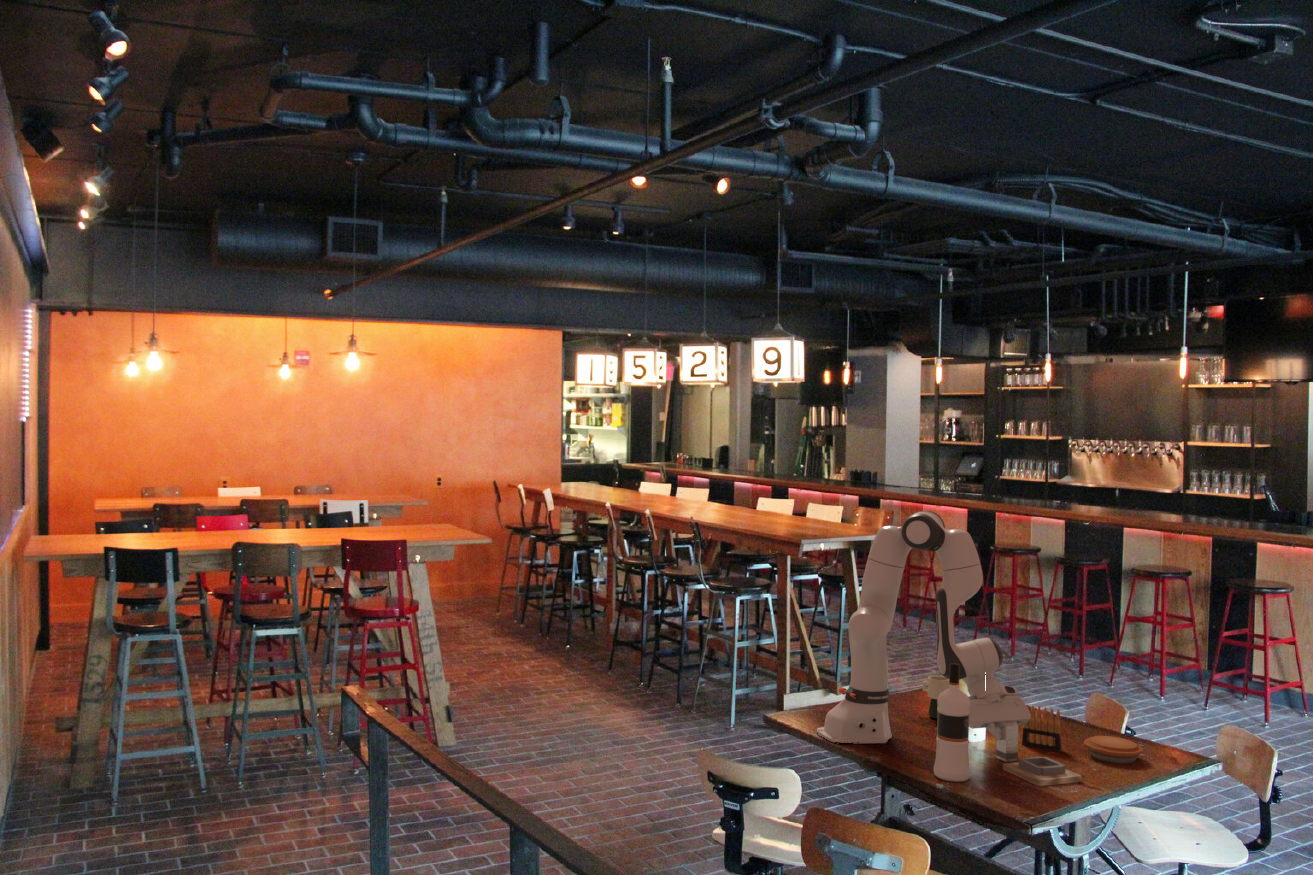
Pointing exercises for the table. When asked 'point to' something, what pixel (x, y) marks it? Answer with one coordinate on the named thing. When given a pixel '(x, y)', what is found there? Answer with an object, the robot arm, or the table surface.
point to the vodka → (952, 731)
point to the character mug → (935, 692)
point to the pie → (1113, 749)
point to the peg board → (1042, 771)
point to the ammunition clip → (1043, 731)
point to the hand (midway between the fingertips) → (1008, 738)
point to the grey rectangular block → (1007, 742)
